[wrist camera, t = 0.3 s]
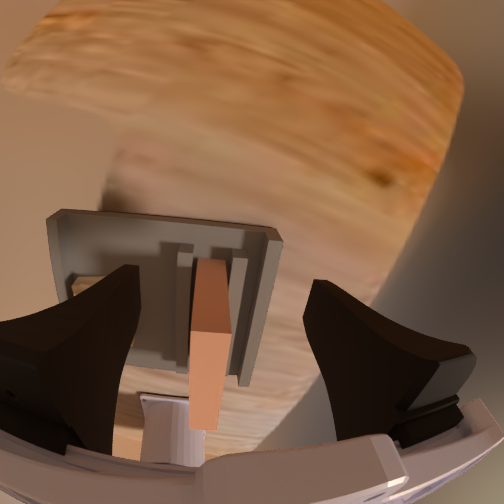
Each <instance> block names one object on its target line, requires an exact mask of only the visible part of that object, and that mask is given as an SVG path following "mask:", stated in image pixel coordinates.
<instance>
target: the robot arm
mask: <svg viewBox="0 0 504 504" xmlns="http://www.w3.org/2000/svg"><path fill="white" fill-rule="evenodd" d="M141 308H142V306H141V292H140V272H139V265H130V264H124V265H122V266H121V267H119V268H118V269H116V270H115V271H113V272H112V273H110V274H109V275H107V276H106V277H104V278H103V279H101V280H100V281H98V282H97V283H95V284H94V285H92V286H90V287H89V288H87V289H85V290H84V291H82V292H81V293H79V294H77V295H75V296H74V297H72V298H70V299H68V300H66V301H64V302H62V303H59V304H57V305H55V306H53V307H50V308H48V309H45V310H42V311H39V312H37V313H34V314H31V315H28V316H24V317H20V318H16V319H12V320H7V321H1V322H0V490H1V491H3V492H5V493H7V494H8V495H10V496H12V497H14V498H15V499H17V500H19V501H21V502H23V503H25V504H411V503H413V502H415V501H417V500H419V499H420V498H422V497H424V496H426V495H428V494H430V493H431V492H433V491H435V490H437V489H438V488H440V487H442V486H443V485H445V484H447V483H448V482H450V481H452V480H453V479H455V478H456V477H457V476H459V475H461V474H462V473H464V472H465V471H467V470H468V469H469V468H471V467H472V466H473V465H475V464H476V463H477V462H478V461H480V460H481V459H482V458H483V457H484V456H486V455H487V454H488V453H489V452H490V451H491V450H492V449H494V448H495V447H496V446H497V445H498V444H499V443H500V442H501V441H502V440H503V439H504V433H503V432H502V430H501V429H500V427H499V425H498V424H497V423H496V421H495V419H494V418H493V416H492V415H491V414H490V412H489V411H488V409H487V408H486V406H485V405H484V403H483V402H482V400H481V399H480V398H477V399H475V400H473V401H471V402H469V403H467V404H465V405H464V406H462V407H461V408H460V409H459V408H458V406H457V405H456V404H457V403H458V402H459V397H458V396H457V395H456V393H457V392H458V391H459V389H460V388H461V387H462V386H463V384H464V383H465V382H466V380H467V379H468V378H469V376H470V375H471V373H472V371H473V369H474V367H475V365H476V355H475V354H474V353H473V352H472V351H471V349H470V348H469V347H467V346H466V345H462V344H458V343H452V342H448V341H443V340H440V339H436V338H433V337H430V336H427V335H424V334H421V333H418V332H416V331H414V330H411V329H409V328H406V327H404V326H402V325H400V324H398V323H396V322H394V321H392V320H390V319H388V318H386V317H384V316H382V315H381V314H379V313H378V312H376V311H374V310H373V309H371V308H369V307H368V306H366V305H365V304H363V303H362V302H360V301H359V300H357V299H356V298H354V297H353V296H351V295H350V294H349V293H347V292H346V291H344V290H343V289H341V288H340V287H338V286H337V285H335V284H333V283H332V282H330V281H328V280H318V279H314V281H313V284H312V288H311V291H310V294H309V298H308V301H307V305H306V308H305V311H304V315H303V323H304V327H305V331H306V335H307V338H308V341H309V344H310V346H311V349H312V351H313V354H314V356H315V358H316V361H317V363H318V366H319V368H320V371H321V373H322V376H323V379H324V381H325V384H326V387H327V392H328V396H329V400H330V404H331V408H332V413H333V418H334V424H335V430H336V436H337V442H332V443H326V444H319V445H313V446H306V447H298V448H289V449H278V450H265V451H251V452H243V453H234V454H226V455H223V456H220V457H217V458H214V459H211V460H208V461H206V462H205V454H204V437H205V433H206V430H192V429H189V398H178V397H168V396H159V395H151V394H140V400H141V405H142V409H143V413H144V417H145V423H144V431H143V439H142V447H141V457H140V461H136V460H130V459H125V458H120V457H115V456H112V442H113V428H114V417H115V409H116V402H117V395H118V390H119V384H120V379H121V375H122V371H123V367H124V364H125V361H126V358H127V356H128V353H129V350H130V347H131V344H132V341H133V338H134V335H135V333H136V330H137V326H138V322H139V317H140V313H141Z"/></svg>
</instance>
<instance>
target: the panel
mask: <svg viewBox="0 0 504 504" xmlns="http://www.w3.org/2000/svg"><path fill="white" fill-rule="evenodd" d="M231 336H232V330H231V319H230V308H229V297H228V285H227V273H226V260H217V259H207V258H198V263H197V271H196V281H195V290H194V300H193V311H192V322H191V337H190V368H189V429H192V430H210V431H217V425H218V418H219V412H220V405H221V399H222V393H223V386H224V380H225V374H226V367H227V361H228V355H229V349H230V342H231Z"/></svg>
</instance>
